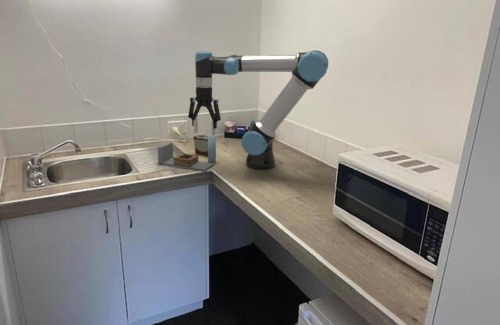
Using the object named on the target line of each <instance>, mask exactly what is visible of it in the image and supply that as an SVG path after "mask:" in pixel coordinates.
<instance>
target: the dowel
mask: <svg viewBox="0 0 500 325" xmlns="http://www.w3.org/2000/svg"><path fill="white" fill-rule="evenodd" d="M207 136H208V157H207V163H213V164H216V163H217V151H216V150H217V136H216V134H215V135H213V136H211V135H210V134H209V135H207Z"/></svg>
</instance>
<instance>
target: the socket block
mask: <svg viewBox="0 0 500 325" xmlns="http://www.w3.org/2000/svg"><path fill="white" fill-rule="evenodd" d="M173 157H174V158H173V160H174V164H178V165H184V166H191V165H193V164H194V163H196V162H197V161H199V155H197V154H193V153H192V154H191V153H185V152H184V153H183V152H182V153H180V154H179V155H178V154H177V155H176V156H173Z"/></svg>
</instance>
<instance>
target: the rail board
mask: <svg viewBox="0 0 500 325" xmlns="http://www.w3.org/2000/svg"><path fill="white" fill-rule="evenodd" d="M173 144H174V143H173V142H171V141H168V142H165V143H163V144H161V145H159V146H158V147H157V157H158V165H162V166H166V167H167V166H169V167H174V168H179V169H187V170H190V171H191V170H192V171H197V172H203V173H205V172H207V171H208V170H209V169H211V168H212V167H214V166H215V163H208V161H207V162H205V161H201V160H200V161H199V160H198V161H197V162H196V163H194V164H193V165H191V166H184V165H178V164H174V160H173V158H174V157H175V156H174V147H173V146H174V145H173Z"/></svg>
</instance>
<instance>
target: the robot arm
mask: <svg viewBox="0 0 500 325" xmlns="http://www.w3.org/2000/svg"><path fill="white" fill-rule="evenodd" d="M194 61H195V62H194V67H195V86H196V87H195V97H194V96H193V97H190V98H189V101H190V104H189V109H188V115H187V117H188V118H189V119H191V121H192V122H191V125H192V127H193V134H197V133H199V124H198V123H199V122H198V120H199V119H197V117H198V114H199V113H200V111H201V108H202V107H204V108H206V110H207V111H208V114H209V116H210V117H211V122H210V123H211V126H210V128H211V130H210V132H211V133H210V134H211V136H213V135H215V136H216V129H217V128H218V122H220V121H221V120H222V119H221V112H220V109H219V99H214V98H213V87H212V86H213V75H225V76H227V75H228V76H236V75H237V74H238V73H246V72H247V73H248V72H249V73H258V72H260V73H261V72H262V73H263V72H264V73H271V72H272V73H274V72H275V73H291V78H290V79H289V81H288V82H287V83H286V85H285V86H284V88H283V89H282V90H281V91H280V93H279V94H278V95H277V97H276V98H275V99H274V100H273V102H272V103H271V105H270V106H269V107H268V108H267V110H266V111H265V112H264V114H263V115H262V117H261V118H260V119H252V120H250V124H249V128H248V129H247V131H246V132H245V133H244V134H243V136H242V137H241V147H242V149H243V150H244V152H245V153H247V156H246V159H245V165H246V166H247V167H249V168H251V169H254V170H268V169H272V168H274V167H276V159H275V155H274V151H273V148H274V147H273V146H274V139H275V137H276V136H277V135H276V131H277V130H278V128H279V127H280V126H281V124H282V123H283V122H284V120H285V119H286V118H287V116H288V115H289V114H290V113H291V111H292V110H293V109H294V108H295V107H296V105H297V104H298V102H300V100H301V99H302V98H303V96H304V95H305V94H306V92H307V91H308V90H313V89H314V88H315V87H316V85H317V84H318V83H319V82H320V81H321V79H322V78H323V77H324V76H326V73H327V71H328V67H329V59H328V57H327V55H326V54H325V53H324V52H323V51H320V50H315V49H314V50H311V51H304V52H297V53H296V54H268V55H267V54H263V55H262V54H260V55H259V54H257V55H256V54H255V55H254V54H251V55H249V54H248V55H245V54H244V55H237V54H231V55H229V56H213V53H212V51H202V50H201V51H197V52H196V53H195V60H194ZM212 104H213V105H212ZM195 105H196V106H195Z"/></svg>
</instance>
